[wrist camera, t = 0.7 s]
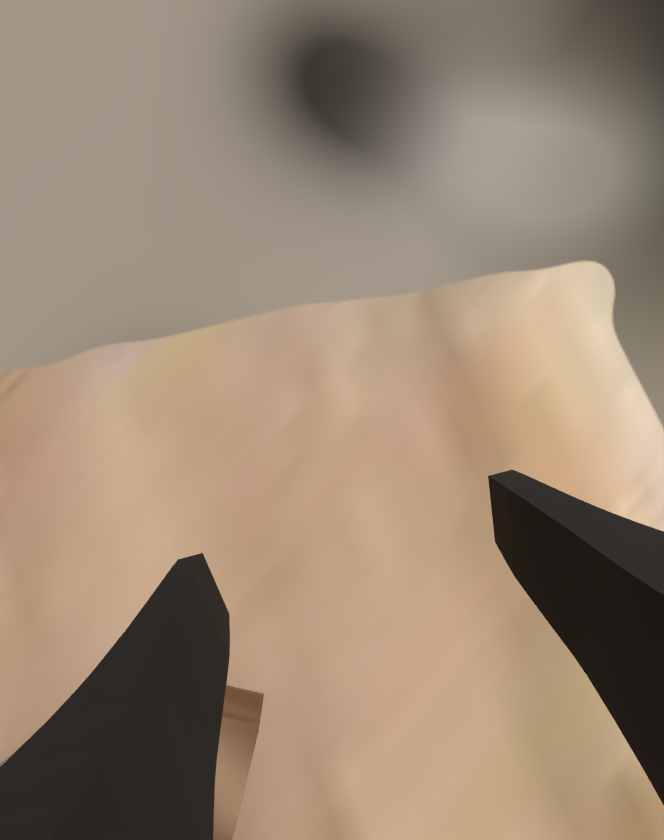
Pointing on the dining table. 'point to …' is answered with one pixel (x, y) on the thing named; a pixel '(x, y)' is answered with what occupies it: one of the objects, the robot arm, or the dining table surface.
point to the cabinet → (234, 756)
